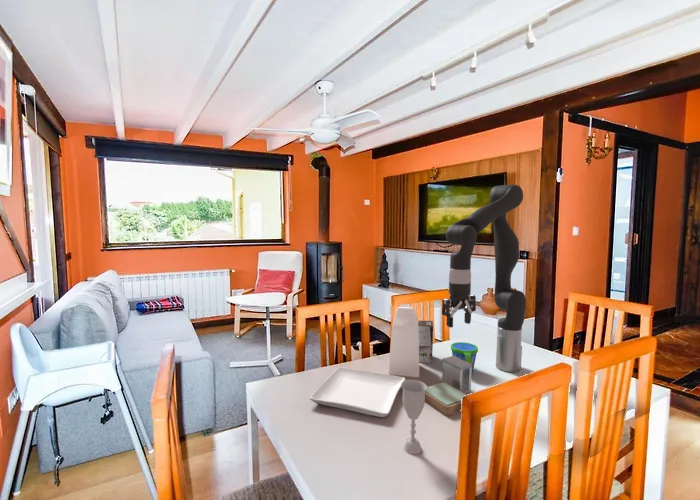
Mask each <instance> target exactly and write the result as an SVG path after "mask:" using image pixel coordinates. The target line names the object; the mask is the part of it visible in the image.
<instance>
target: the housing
mask: <svg viewBox="0 0 700 500" xmlns="http://www.w3.org/2000/svg"><path fill="white" fill-rule="evenodd" d="M441 374H442V375H441V383H442V382H445V383H447V384H449V385H451V386H452V387H454V388H456V389H458V390H459V391H461V392H463V393H465V394H466V393H467V394H468V393H470V392H471V391H472V364H470V363H468V362H466V361H464V360H462V359H459V358H457V357H455V356H448V357H447V356H446V357H443V358H442V372H441Z"/></svg>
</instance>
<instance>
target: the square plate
mask: <svg viewBox="0 0 700 500" xmlns="http://www.w3.org/2000/svg"><path fill="white" fill-rule="evenodd" d="M403 381H406V378H405V376H399V375H389V373H381V372H377V371H370V370H369V371H368V370H363V369H357V368H350V367H349V368H348V367H343V366H339V367H337V368H336V369H335V370H334V371H333V372H332V373H331V375H329V376H328V377H327V379H326V380H324V382H323V383H322V384H321V385H320V386H319V387H318V388H317V389H316V390H315V391H314V392H313V393H312V394H311V395H310V396H309V400H311V401H312V403H313V402H314V403H315V404H319V405H322V406H327V407H331V408H338V409H341V410H347V411H351V412H356V413H360V414H364V415H367V416H374V417H379V418H385V417H386V416H388V415H390V412H391V410H392V408H393V404H394V402H395V400H396V398H397V396H398V393H399V392H400V390H401V388H402V386H401V384H402V382H403Z"/></svg>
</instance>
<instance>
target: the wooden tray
mask: <svg viewBox="0 0 700 500" xmlns="http://www.w3.org/2000/svg"><path fill="white" fill-rule="evenodd" d="M464 395H468V393H467V394H466V393H463V392H461V391H459V390H458V389H456V388H454V387H452V386H451V385H449V384H447V383H445V382H442V381H441V382H438V383H434V384H432V385H428V386H427V388H426V390H425V403H426V405H427V404H428V406H430V407H431V408H434V410H436V411H438V412H439V413H440V414H442V415H443V416H445V417H446V418H447V417H449V416H451V415H452V416H453V415H454V414H458V413H461V412H460V410H461V399H462V397H463V396H464Z"/></svg>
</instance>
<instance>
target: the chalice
mask: <svg viewBox="0 0 700 500" xmlns="http://www.w3.org/2000/svg"><path fill="white" fill-rule="evenodd" d="M401 386H402V387H401V388H402V404H403V407H404V410H405V413H406V415H407V416H408V417H407V418H409V419H411V422H410V430H409V433H410V437H408V438H407V439H406V440H405V442H404V444H403V446H402V447H403V450H404V452H406V453H407V454H410V455H419V454H420V453H421V452H422V451H423V448H422V447H421V443H420V441H419V440H418V438H416V437H415V434H416V433H417V431H416V426H417V425H416V420H418V419H419V417H420V416H421V414H422V412H423V409H424V407H425V390H426V388H427V387H428V386H427V384H426V383H425V382H423V381H421V380H417V379H405V381H403V382H402V384H401Z"/></svg>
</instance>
